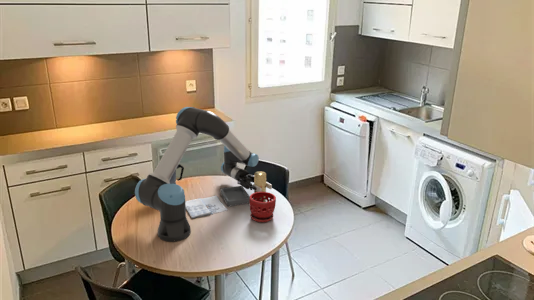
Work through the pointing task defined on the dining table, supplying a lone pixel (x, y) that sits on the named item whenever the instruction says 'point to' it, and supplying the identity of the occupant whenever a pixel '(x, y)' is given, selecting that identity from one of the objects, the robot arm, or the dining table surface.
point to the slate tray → (235, 195)
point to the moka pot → (172, 180)
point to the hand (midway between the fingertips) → (266, 188)
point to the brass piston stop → (260, 182)
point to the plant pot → (262, 206)
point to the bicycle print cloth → (199, 209)
